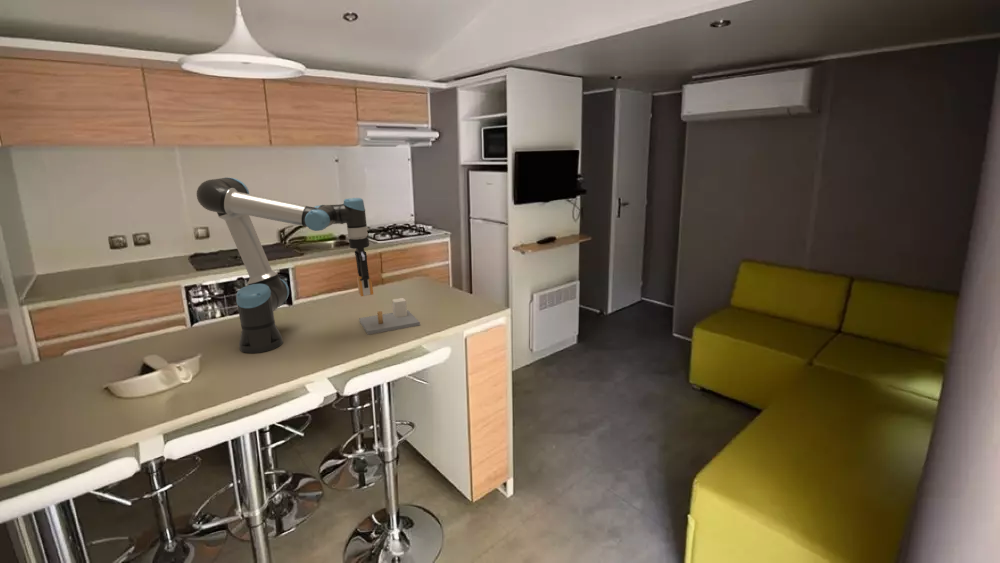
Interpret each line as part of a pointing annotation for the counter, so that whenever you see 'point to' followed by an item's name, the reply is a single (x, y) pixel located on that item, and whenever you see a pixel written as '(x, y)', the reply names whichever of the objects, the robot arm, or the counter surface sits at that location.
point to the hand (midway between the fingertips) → (365, 293)
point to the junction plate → (390, 319)
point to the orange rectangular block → (361, 286)
